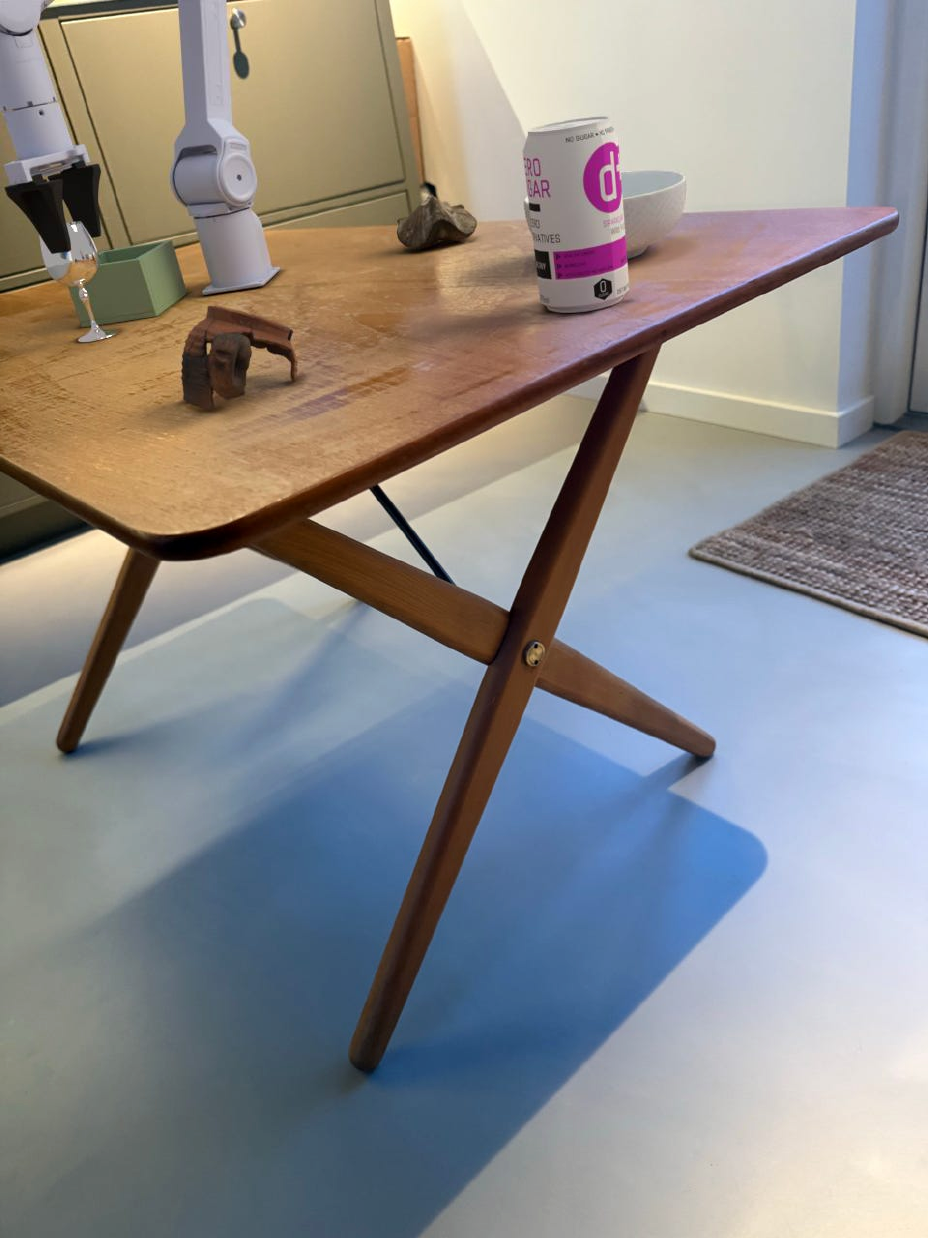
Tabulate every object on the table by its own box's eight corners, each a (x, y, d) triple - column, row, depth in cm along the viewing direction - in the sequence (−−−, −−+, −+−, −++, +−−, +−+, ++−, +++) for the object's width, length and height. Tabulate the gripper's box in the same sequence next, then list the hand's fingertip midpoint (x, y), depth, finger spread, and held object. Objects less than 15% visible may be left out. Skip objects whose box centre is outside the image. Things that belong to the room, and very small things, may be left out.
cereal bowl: (501, 276, 108) (492, 206, 104) (577, 239, 119) (571, 175, 116) (646, 274, 99) (641, 197, 95) (713, 234, 110) (711, 164, 106)
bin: (117, 303, 131) (100, 251, 127) (187, 293, 129) (172, 239, 126) (81, 327, 121) (62, 271, 118) (156, 316, 119) (139, 259, 116)
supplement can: (647, 291, 93) (635, 111, 85) (593, 317, 88) (576, 129, 81) (577, 288, 98) (560, 119, 91) (523, 312, 93) (500, 135, 86)
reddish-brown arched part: (179, 397, 89) (198, 303, 87) (285, 425, 91) (306, 333, 89) (162, 400, 77) (184, 291, 76) (284, 432, 79) (308, 326, 78)
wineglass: (105, 341, 112) (67, 228, 106) (62, 345, 113) (22, 234, 107) (132, 326, 116) (97, 217, 110) (91, 331, 118) (54, 223, 112)
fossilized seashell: (476, 212, 133) (405, 237, 135) (461, 171, 127) (387, 197, 129) (484, 251, 129) (411, 276, 131) (468, 210, 124) (392, 237, 126)
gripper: (31, 106, 96) (81, 253, 103) (95, 94, 109) (136, 226, 115) (-34, 119, 98) (19, 263, 104) (36, 105, 110) (80, 235, 117)
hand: (77, 244), depth 110 cm, fingers open, 7 cm apart
